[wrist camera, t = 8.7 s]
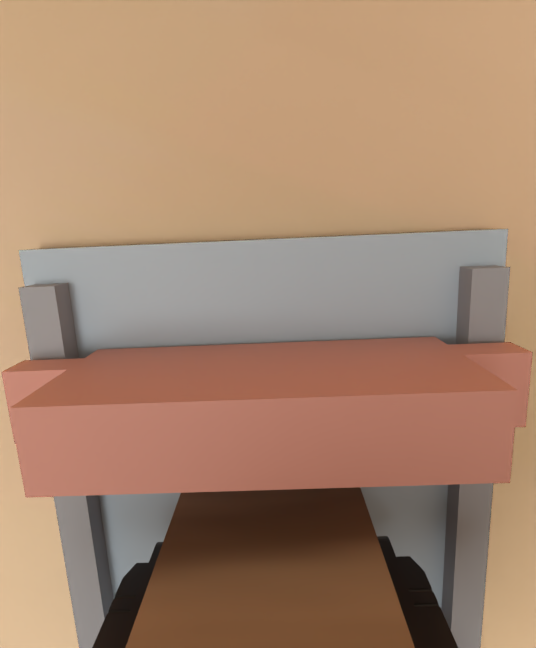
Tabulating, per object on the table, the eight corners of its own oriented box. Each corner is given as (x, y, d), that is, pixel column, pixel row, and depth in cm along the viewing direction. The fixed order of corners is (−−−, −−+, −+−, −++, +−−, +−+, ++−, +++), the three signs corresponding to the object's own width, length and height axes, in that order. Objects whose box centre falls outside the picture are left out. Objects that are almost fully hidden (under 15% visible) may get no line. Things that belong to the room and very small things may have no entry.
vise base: (37, 248, 13) (-125, 260, 8) (490, 229, 13) (645, 226, 7) (102, 661, 17) (19, 868, 11) (462, 654, 16) (554, 862, 11)
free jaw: (41, 351, 13) (-75, 411, 8) (493, 334, 12) (607, 386, 8) (51, 413, 13) (-55, 499, 9) (488, 398, 13) (595, 480, 9)
